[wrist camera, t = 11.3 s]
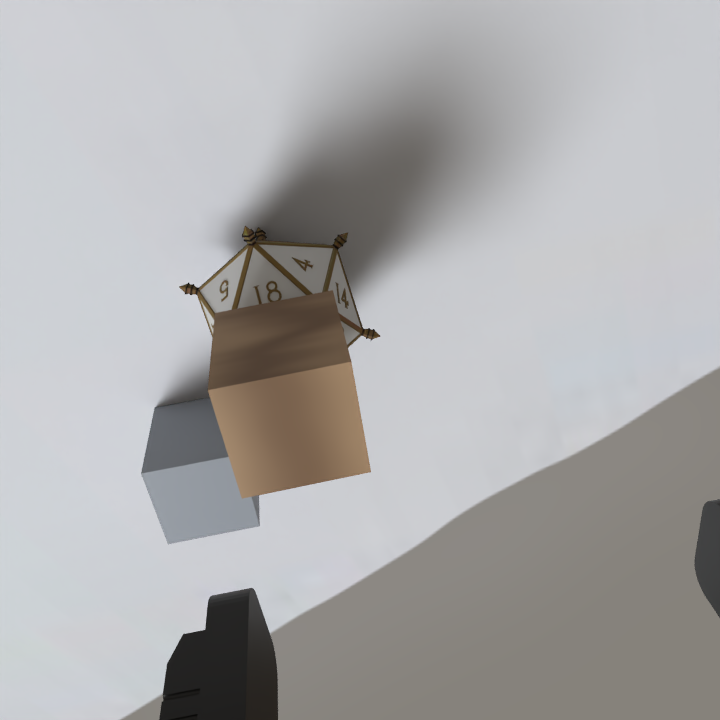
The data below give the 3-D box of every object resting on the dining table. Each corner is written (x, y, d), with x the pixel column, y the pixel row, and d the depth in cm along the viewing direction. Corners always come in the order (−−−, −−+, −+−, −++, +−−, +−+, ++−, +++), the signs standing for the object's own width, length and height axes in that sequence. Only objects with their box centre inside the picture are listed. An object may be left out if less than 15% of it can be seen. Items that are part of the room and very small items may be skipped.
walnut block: (332, 289, 29) (351, 361, 24) (351, 388, 31) (370, 472, 26) (214, 312, 29) (207, 390, 23) (242, 410, 31) (241, 498, 26)
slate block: (240, 391, 40) (239, 454, 35) (258, 457, 43) (259, 526, 37) (154, 407, 40) (141, 473, 35) (177, 473, 42) (168, 544, 37)
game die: (285, 222, 39) (384, 181, 31) (331, 362, 41) (438, 360, 32) (135, 266, 35) (201, 233, 26) (193, 422, 36) (274, 438, 28)
